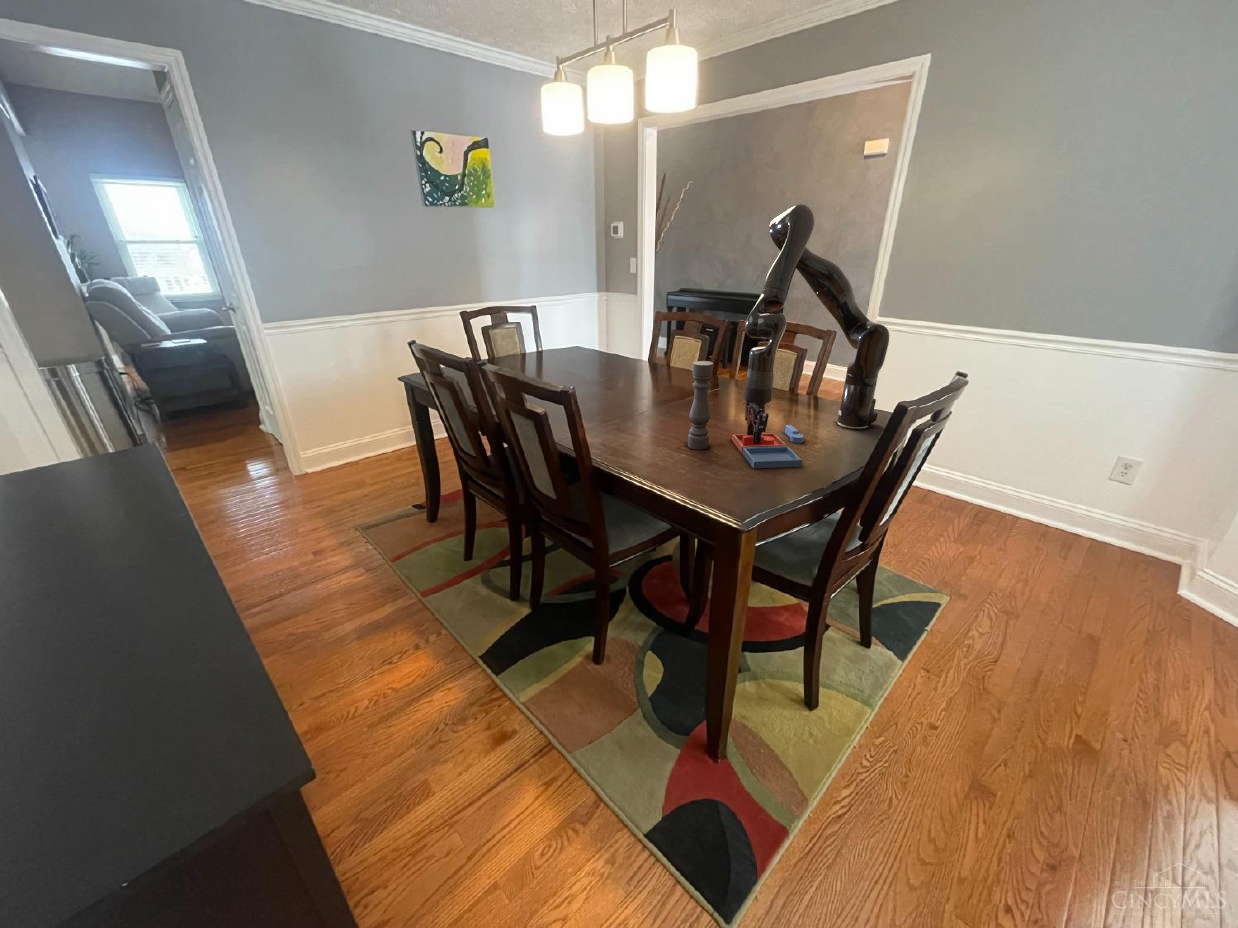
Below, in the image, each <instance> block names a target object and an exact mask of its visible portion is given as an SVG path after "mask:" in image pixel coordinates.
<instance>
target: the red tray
mask: <svg viewBox="0 0 1238 928" xmlns="http://www.w3.org/2000/svg"><path fill="white" fill-rule="evenodd" d="M762 435H763V436H770V437H773V438H774V445H749V446H743V444H742V438H743V436H747V433H737V434H734V433H733V434H732V437H731V441H732V443H733V444H734V445H735V447H736V448H737V449H738V450H739V452H740V453H741V454H742V453H743V448H749V447H781V446H788V445H787V444H786V442H784V441H783V440H782V438H780V437H779V436H778V435H777V434H776V433H775V432H771V433H770V432H767V433H765V432H763V433H762Z"/></svg>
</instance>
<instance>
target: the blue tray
mask: <svg viewBox="0 0 1238 928" xmlns="http://www.w3.org/2000/svg"><path fill="white" fill-rule="evenodd" d="M741 454H742V455H743V457H744V459H745V460H746V461H747V462H748V463H749V465H750V466H751V467H752V469H771V468H772V469H775V468H777V469H778V468H801V467H802V464H803V459H802V458H801V457H800V456H799V455H798V454H797V453H796V452H795V451H794V450H793V449H791V447H790V446H788V445H787V446H781V447H749V448H743V453H741Z"/></svg>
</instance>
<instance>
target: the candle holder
mask: <svg viewBox="0 0 1238 928" xmlns="http://www.w3.org/2000/svg"><path fill="white" fill-rule="evenodd" d="M713 369H714V363H713V362H712V361H708V360H697V361H693V362H692V372H691V373H692V378H693V380H694V381H693V382H692V387H693V389H694V392H693V393H694V395H693V401H692V404H691V408H690V411H689V415H688V417H689V421H690V422H691V427H690V428H689V431H688V432H689V433H688V435H687V447H688V448H689V449H692V450H699V451H701V450H706V449H708V448H709V443H710V442H709V441H710V440H709V439H710V435H709V429H708V427H707V426H708V423H709V422H710V419H711V412H710V407H709V401H708V400H709V399H708V395H709V389H710V388H711V386H712V384H711V383H710V380H711V378H712V376H713Z"/></svg>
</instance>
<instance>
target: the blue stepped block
mask: <svg viewBox="0 0 1238 928" xmlns="http://www.w3.org/2000/svg"><path fill="white" fill-rule="evenodd" d="M799 432H800V431H799V430H798V429H797V428H795V427H794V426H793V425H792V424H786V425H785V428H784V434H785V435H787V436H788V438H790V439H789V441H790V442H791V443H795V444H801V443H803V442H804V439H805V436H804V435H803V434H802V433H799Z"/></svg>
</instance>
